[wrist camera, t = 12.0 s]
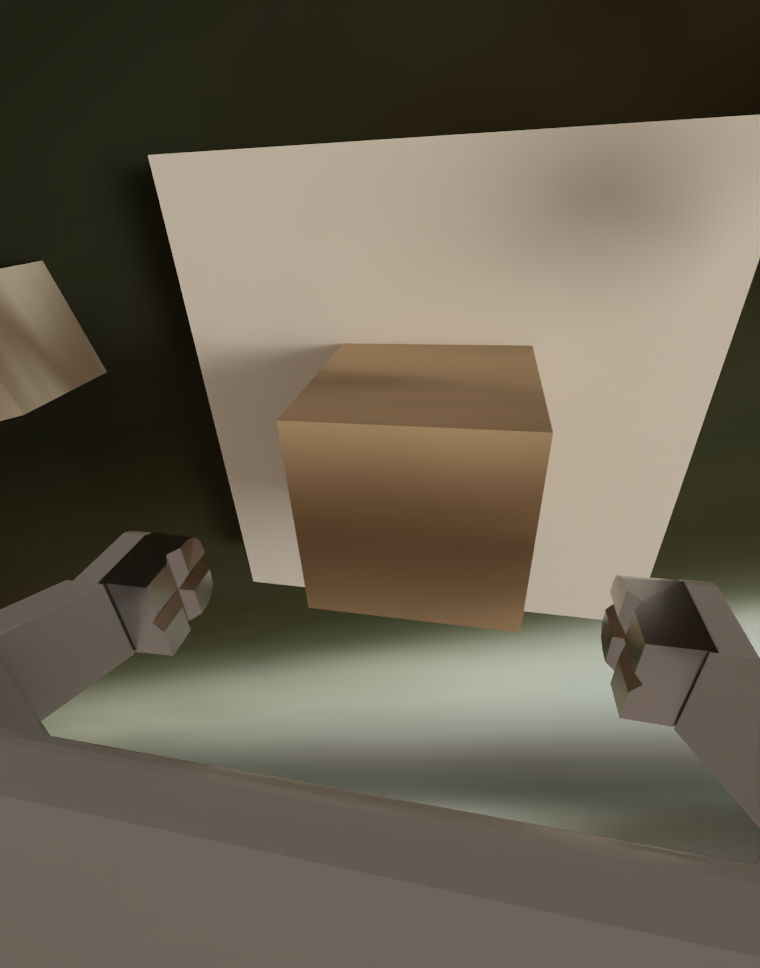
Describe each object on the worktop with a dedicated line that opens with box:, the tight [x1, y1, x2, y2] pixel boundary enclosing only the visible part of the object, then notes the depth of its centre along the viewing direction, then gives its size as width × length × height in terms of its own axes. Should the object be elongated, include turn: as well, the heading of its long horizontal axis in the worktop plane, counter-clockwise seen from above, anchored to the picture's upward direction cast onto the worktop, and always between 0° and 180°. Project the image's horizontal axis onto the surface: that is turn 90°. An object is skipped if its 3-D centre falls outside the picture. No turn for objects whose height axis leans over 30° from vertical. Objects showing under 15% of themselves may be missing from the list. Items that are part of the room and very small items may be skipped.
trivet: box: [148, 115, 760, 620], centre depth 15 cm, size 14×14×2 cm
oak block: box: [276, 343, 553, 632], centre depth 12 cm, size 5×5×5 cm
